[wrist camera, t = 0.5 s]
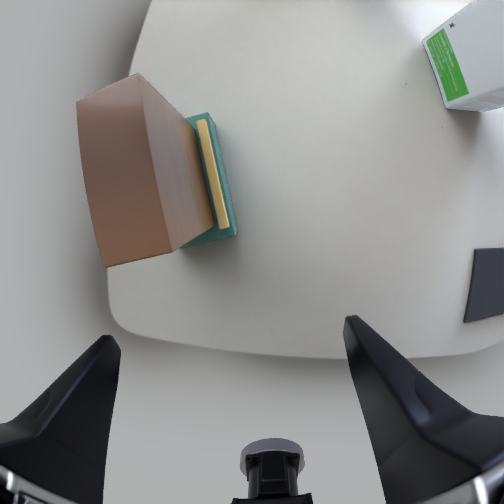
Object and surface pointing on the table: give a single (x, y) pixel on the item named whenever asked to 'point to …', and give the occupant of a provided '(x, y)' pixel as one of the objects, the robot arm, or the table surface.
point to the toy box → (213, 181)
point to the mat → (486, 285)
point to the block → (140, 172)
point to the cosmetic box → (470, 57)
